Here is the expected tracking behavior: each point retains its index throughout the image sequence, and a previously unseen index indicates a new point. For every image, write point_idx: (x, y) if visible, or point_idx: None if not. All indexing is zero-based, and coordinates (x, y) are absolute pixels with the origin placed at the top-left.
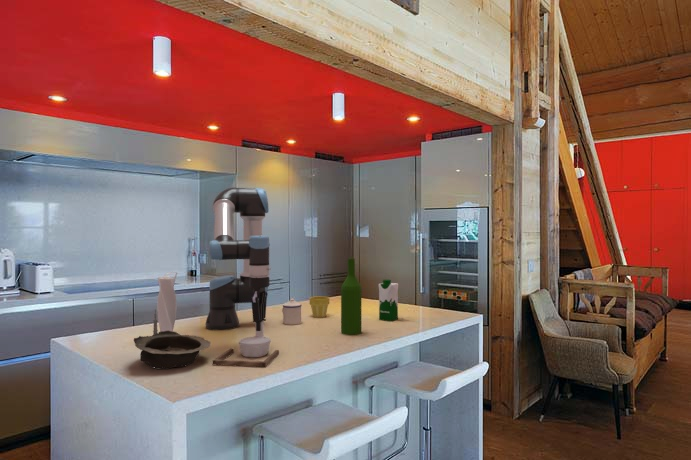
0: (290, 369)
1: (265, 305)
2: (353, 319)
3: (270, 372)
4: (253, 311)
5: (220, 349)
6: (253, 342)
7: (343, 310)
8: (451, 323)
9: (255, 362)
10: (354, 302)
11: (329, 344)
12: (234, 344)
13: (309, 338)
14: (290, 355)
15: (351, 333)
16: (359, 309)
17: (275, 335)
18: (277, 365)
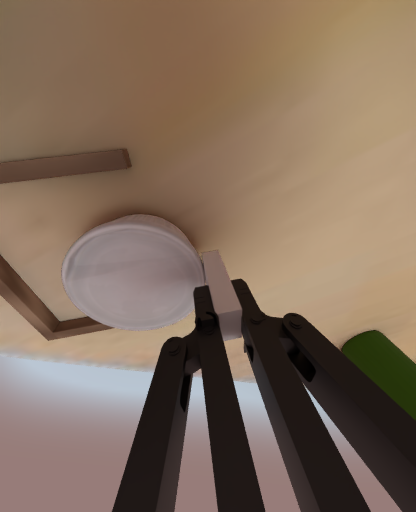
0: (80, 364)
1: (362, 451)
2: None
3: (31, 350)
4: (131, 465)
5: (153, 41)
6: (97, 303)
7: (405, 396)
8: None
9: (29, 322)
10: None
11: None
12: (267, 85)
13: (329, 303)
14: (175, 328)
15: (344, 351)
16: None
17: (392, 208)
18: (87, 339)
